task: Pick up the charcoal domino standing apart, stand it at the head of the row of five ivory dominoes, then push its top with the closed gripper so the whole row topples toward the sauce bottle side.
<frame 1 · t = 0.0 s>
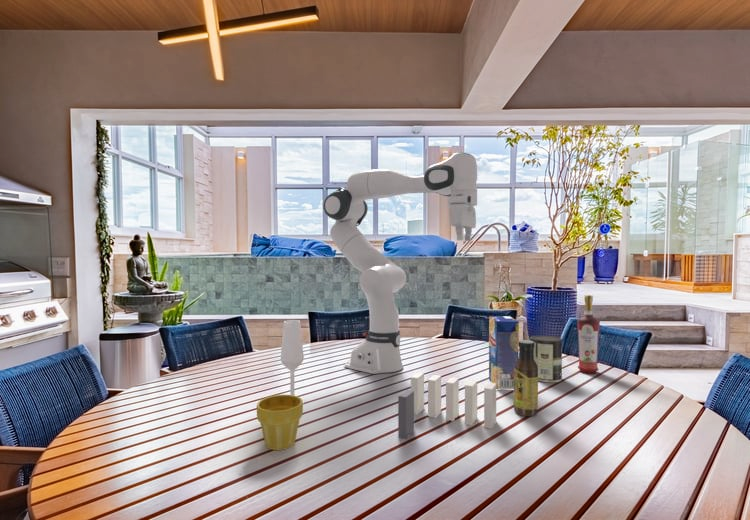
hand: (463, 240, 144), 48 cm above the table, tool pointing down, fingers open, 8 cm apart
liquor: (587, 372, 153), on the table
domino 5: (471, 420, 109), on the table
domino 2: (417, 410, 116), on the table
coffee can: (545, 378, 145), on the table
champagne flute: (292, 403, 123), on the table
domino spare: (406, 434, 102), on the table
domino 6: (490, 424, 107), on the table
beverage box: (503, 385, 139), on the table
domino 4: (452, 417, 112), on the table
sauce bottle: (525, 413, 114), on the table
plant pot: (280, 444, 97), on the table
domino 3: (434, 413, 114), on the table
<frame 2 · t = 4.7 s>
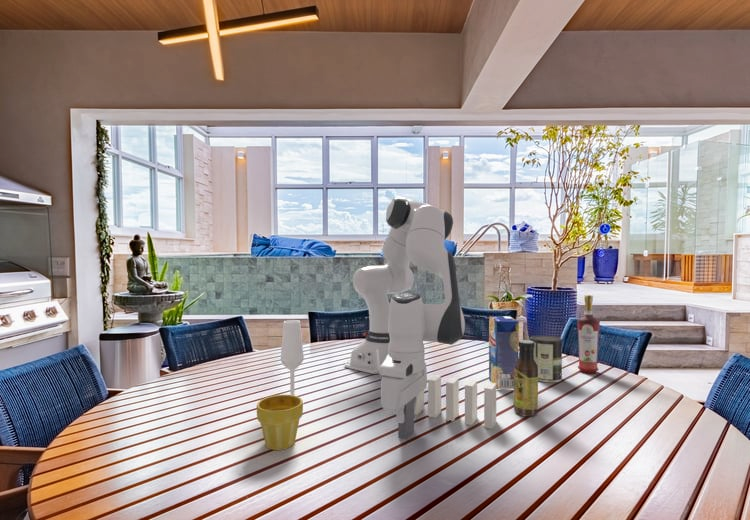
hand: (406, 417, 101), 4 cm above the table, tool pointing down, fingers closed on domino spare, 5 cm apart
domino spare: (406, 434, 102), on the table, touching gripper
everything else where it was.
when the fingers open (5 cm above the table, at t = 9.8 s): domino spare drops 1 cm, on the table.
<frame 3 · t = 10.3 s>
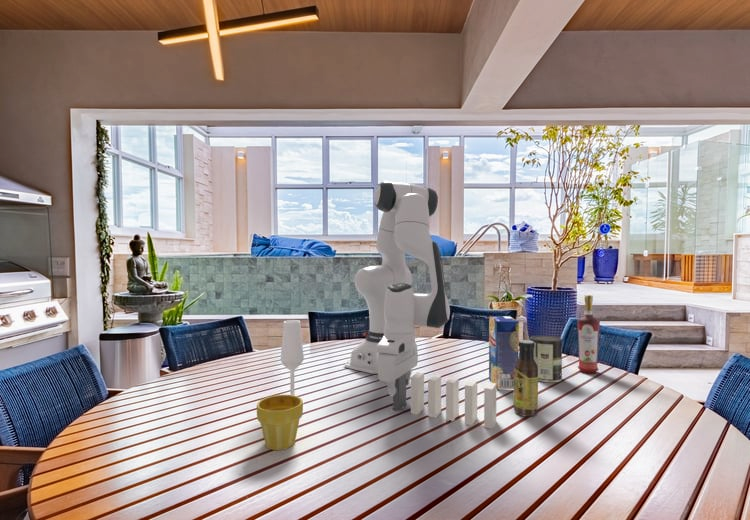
hand: (399, 389, 119), 5 cm above the table, tool pointing down, fingers open, 8 cm apart
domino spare: (399, 407, 119), on the table
everything else where it was.
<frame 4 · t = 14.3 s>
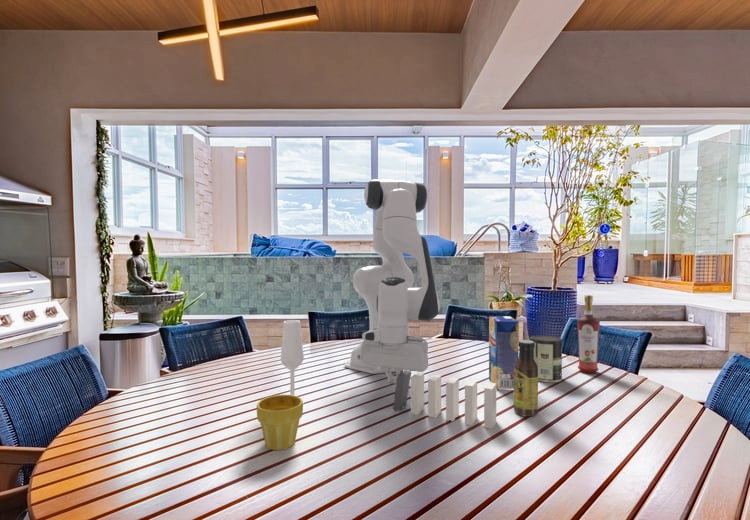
hand: (393, 383, 119), 7 cm above the table, tool pointing down, fingers closed
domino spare: (399, 406, 119), on the table, tilted 9°, touching gripper
everything else where it was.
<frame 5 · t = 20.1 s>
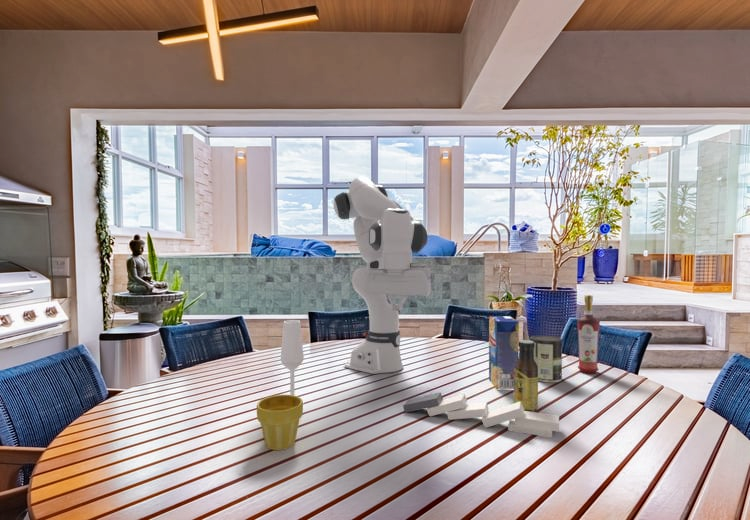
hand: (397, 310, 123), 27 cm above the table, tool pointing down, fingers closed
domino 5: (515, 417, 106), point 2 cm above the table, tilted 90°, touching domino 4, domino 6
domino 2: (430, 409, 115), point 1 cm above the table, tilted 68°, touching domino 3
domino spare: (406, 405, 117), point 1 cm above the table, tilted 71°
domino 6: (509, 425, 106), on the table, tilted 90°, touching domino 5
domino 4: (484, 420, 108), point 1 cm above the table, tilted 65°, touching domino 3, domino 5
domino 3: (449, 412, 112), point 1 cm above the table, tilted 77°, touching domino 2, domino 4
everything else where it was.
at the end: domino 6 tilted 90°; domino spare tilted 71°; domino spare inside the target area (0.8 cm from its centre), point 0.9 cm above the table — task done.
